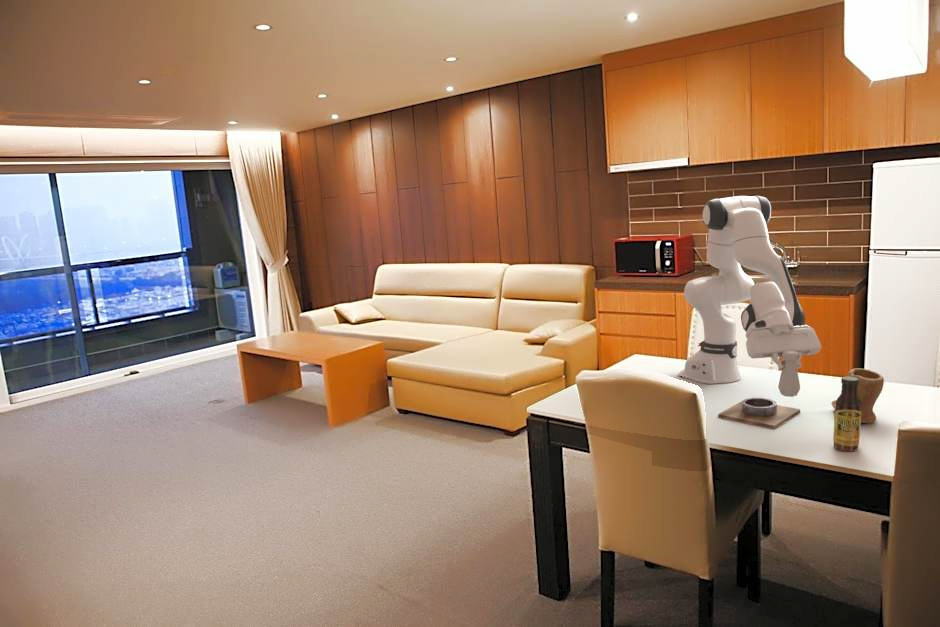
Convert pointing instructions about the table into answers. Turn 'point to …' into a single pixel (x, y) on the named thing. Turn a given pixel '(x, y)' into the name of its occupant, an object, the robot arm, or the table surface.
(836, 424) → the sauce bottle
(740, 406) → the keeper plate
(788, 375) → the salt shaker
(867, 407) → the stone cup
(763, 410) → the keeper collar
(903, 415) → the table surface
